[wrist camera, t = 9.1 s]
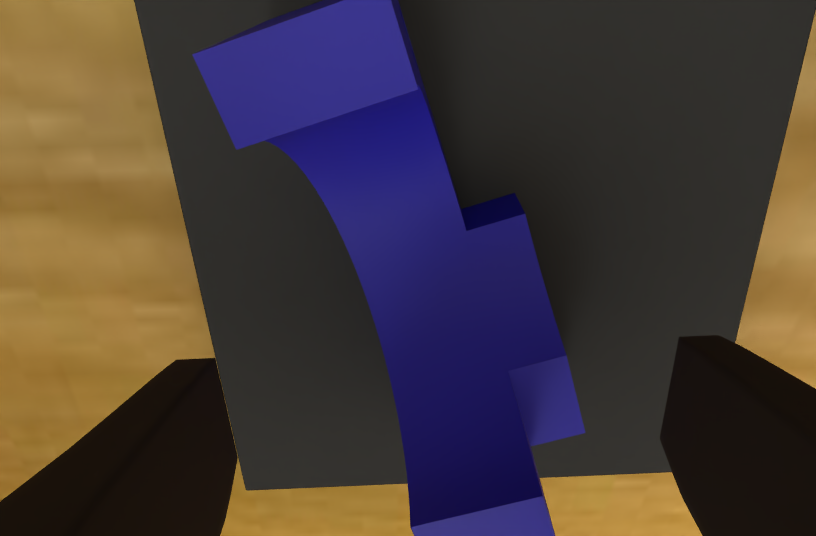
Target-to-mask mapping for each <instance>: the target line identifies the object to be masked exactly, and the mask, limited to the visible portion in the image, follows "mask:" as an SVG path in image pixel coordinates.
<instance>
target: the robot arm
mask: <svg viewBox="0 0 816 536" xmlns="http://www.w3.org/2000/svg"><path fill="white" fill-rule="evenodd" d="M660 441H661V444H662V446H663V449H664V452H665V454H666V457H667V460H668V462H669V465H670V468H671V471H672V473H673V476H674V478H675V480H676V483H677V485H678V488H679V490H680V493H681V495H682V498H683V500H684V502H685V503H686V505H687V507H688V509H689V511H690V513H691V515H692V517H693V519H694V520H695V522H696V524H697V526H698V528H699V530H700V532H701V533H702V535H703V536H816V389H815V388H813V387H811V386H810V385H808V384H806V383H805V382H803V381H801V380H799V379H798V378H796V377H794V376H792V375H791V374H789V373H787V372H786V371H784V370H782V369H780V368H779V367H777V366H775V365H773V364H772V363H770V362H768V361H767V360H765V359H763V358H761V357H759V356H758V355H756V354H754V353H752V352H751V351H749V350H747V349H745V348H743V347H741V346H740V345H738V344H736V343H734V342H732V341H730V340H728V339H726V338H724V337H722V336H719V335H707V336H686V337H679V339H678V344H677V349H676V355H675V360H674V365H673V370H672V376H671V381H670V386H669V391H668V397H667V402H666V407H665V412H664V418H663V423H662V428H661V433H660ZM237 458H238V457H237V452H236V448H235V443H234V439H233V435H232V430H231V426H230V421H229V417H228V413H227V408H226V404H225V399H224V395H223V390H222V386H221V382H220V377H219V373H218V368H217V364H216V359H215V358H207V359H185V360H175V361H174V362H173V363H171V364H170V365H169V366H167V367H166V368H165V369H164V370H162V371H161V372H160V373H159V374H157V375H156V376H155V377H154V378H153V379H151V380H150V381H149V382H148V383H147V384H146V385H144V386H143V387H142V388H141V389H140V390H138V391H137V392H136V393H135V394H134V395H133V396H131V397H130V398H129V399H128V400H127V401H125V402H124V403H123V404H122V405H121V406H120V407H118V408H117V409H116V410H115V411H114V412H112V413H111V414H110V415H109V416H108V417H106V418H105V419H104V420H103V421H102V422H100V423H99V424H98V425H97V426H96V427H94V428H93V429H92V430H91V431H90V432H88V433H87V434H86V435H85V436H84V437H82V438H81V439H80V440H79V441H78V442H76V443H75V444H74V445H73V446H72V447H70V448H69V449H68V450H67V451H65V452H64V453H63V454H61V455H60V456H59V457H58V458H56V459H55V460H54V461H52V462H51V463H50V464H48V465H47V466H46V467H45V468H43V469H42V470H41V471H39V472H38V473H37V474H36V475H34V476H33V477H32V478H30V479H29V480H28V481H26V482H25V483H24V484H23V485H21V486H20V487H19V488H17V489H16V490H15V491H13V492H12V493H11V494H10V495H8V496H7V497H6V498H4V499H3V500H2V501H1V502H0V536H220V534H221V531H222V528H223V525H224V522H225V518H226V514H227V509H228V504H229V500H230V495H231V490H232V485H233V480H234V474H235V469H236V464H237Z"/></svg>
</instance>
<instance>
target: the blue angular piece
mask: <svg viewBox="0 0 816 536" xmlns="http://www.w3.org/2000/svg"><path fill="white" fill-rule="evenodd" d="M192 55H193V57H194V59H195V61H196V64H197V66H198V68H199V70H200V72H201V74H202V77H203V79H204V81H205V83H206V85H207V87H208V90H209V92H210V94H211V96H212V98H213V100H214V103H215V105H216V107H217V109H218V111H219V113H220V116H221V118H222V120H223V122H224V124H225V126H226V129H227V131H228V133H229V135H230V137H231V139H232V142H233V144H234V146H235V148H236V150H237V149H241V148H244V147H247V146H250V145H253V144H256V143H259V142H262V141H266V142H270V143H271V144H273V145H275V146H277V147H278V148H280V149H281V150H282V151H284V152H285V153H286V154H287V155H288V156H289V157H290V158H291V159H292V160H293V161H294V162H295V163H296V164H297V165H298V166H299V167H300V169H301V170H302V171H303V172H304V174H305V175H306V176H307V178H308V179H309V180H310V182H311V183H312V185H313V186H314V188H315V189H316V191H317V192H318V194H319V196H320V197H321V199H322V200H323V202H324V204H325V206H326V207H327V209H328V211H329V213H330V215H331V217H332V219H333V220H334V222H335V224H336V226H337V228H338V230H339V233H340V235H341V237H342V239H343V241H344V243H345V245H346V248H347V250H348V252H349V255H350V257H351V259H352V262H353V264H354V267H355V269H356V272H357V274H358V277H359V279H360V282H361V285H362V287H363V290H364V293H365V296H366V299H367V302H368V304H369V307H370V310H371V314H372V317H373V320H374V323H375V326H376V329H377V333H378V336H379V339H380V343H381V347H382V350H383V354H384V357H385V361H386V365H387V369H388V373H389V377H390V382H391V386H392V390H393V395H394V399H395V404H396V409H397V414H398V419H399V425H400V430H401V436H402V443H403V449H404V456H405V464H406V471H407V481H408V491H409V505H410V526H411V529H412V532H413V534H414V536H555V533H554V529H553V526H552V522H551V518H550V515H549V511H548V508H547V504H546V500H545V497H544V493H543V489H542V486H541V482H540V478H539V475H538V471H537V467H536V464H535V460H534V456H533V453H532V449H531V446H534V445H538V444H543V443H547V442H551V441H555V440H559V439H563V438H567V437H571V436H575V435H579V434H583V433H585V429H584V425H583V421H582V417H581V413H580V408H579V404H578V400H577V396H576V392H575V388H574V384H573V380H572V376H571V372H570V368H569V364H568V360H567V355H566V352H565V349H564V346H563V343H562V340H561V337H560V334H559V331H558V327H557V324H556V321H555V318H554V315H553V311H552V308H551V305H550V301H549V298H548V295H547V291H546V288H545V284H544V281H543V278H542V274H541V270H540V267H539V263H538V260H537V256H536V253H535V249H534V245H533V242H532V238H531V234H530V230H529V226H528V222H527V219H526V215H525V212H524V210H523V208H522V206H521V204H520V202H519V200H518V198H517V196H516V194H515V193H513V194H509V195H506V196H503V197H499V198H496V199H493V200H489V201H486V202H483V203H480V204H476V205H473V206H470V207H466V208H463V209H461V207H460V204H459V201H458V197H457V194H456V191H455V187H454V184H453V181H452V177H451V174H450V171H449V167H448V164H447V161H446V158H445V154H444V151H443V148H442V144H441V141H440V138H439V134H438V131H437V128H436V124H435V121H434V118H433V114H432V111H431V108H430V104H429V101H428V98H427V95H426V91H425V88H424V85H423V81H422V78H421V75H420V71H419V68H418V65H417V61H416V58H415V55H414V51H413V48H412V45H411V41H410V38H409V35H408V32H407V28H406V25H405V22H404V18H403V15H402V12H401V8H400V5H399V2H398V0H323V1H320V2H317V3H314V4H311V5H309V6H306V7H303V8H300V9H298V10H295V11H292V12H289V13H286V14H284V15H281V16H278V17H275V18H273V19H270V20H268V21H265V22H263V23H261V24H259V25H256V26H254V27H252V28H250V29H248V30H245V31H243V32H241V33H239V34H237V35H234V36H232V37H230V38H228V39H225V40H223V41H221V42H219V43H217V44H214V45H212V46H210V47H208V48H206V49H203V50H201V51H199V52H197V53H194V54H192Z"/></svg>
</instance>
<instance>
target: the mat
mask: <svg viewBox="0 0 816 536" xmlns="http://www.w3.org/2000/svg"><path fill="white" fill-rule="evenodd" d="M320 1H323V0H134V2H135V6H136V11H137V15H138V19H139V24H140V28H141V33H142V37H143V41H144V46H145V50H146V55H147V59H148V63H149V68H150V72H151V76H152V81H153V85H154V90H155V94H156V98H157V103H158V107H159V111H160V116H161V120H162V125H163V129H164V133H165V138H166V142H167V147H168V151H169V155H170V160H171V164H172V168H173V173H174V177H175V182H176V186H177V190H178V195H179V199H180V203H181V208H182V212H183V217H184V221H185V225H186V230H187V234H188V239H189V243H190V247H191V252H192V256H193V260H194V265H195V269H196V274H197V278H198V282H199V287H200V291H201V295H202V300H203V304H204V309H205V313H206V317H207V322H208V326H209V331H210V335H211V339H212V344H213V348H214V352H215V357H216V361H217V366H218V370H219V374H220V379H221V383H222V387H223V392H224V396H225V401H226V405H227V409H228V414H229V418H230V423H231V427H232V431H233V436H234V440H235V444H236V449H237V453H238V458H239V462H240V466H241V471H242V475H243V479H244V484H245V488H246V490H268V489H291V488H315V487H338V486H361V485H384V484H407V483H408V481H407V471H406V464H405V456H404V449H403V443H402V436H401V430H400V425H399V419H398V414H397V409H396V404H395V399H394V395H393V390H392V386H391V382H390V377H389V373H388V369H387V365H386V361H385V357H384V354H383V350H382V347H381V343H380V339H379V336H378V333H377V329H376V326H375V323H374V320H373V317H372V314H371V310H370V307H369V304H368V302H367V299H366V296H365V293H364V290H363V287H362V285H361V282H360V279H359V277H358V274H357V272H356V269H355V267H354V264H353V262H352V259H351V257H350V255H349V252H348V250H347V248H346V245H345V243H344V241H343V239H342V237H341V235H340V233H339V230H338V228H337V226H336V224H335V222H334V220H333V219H332V217H331V215H330V213H329V211H328V209H327V207H326V206H325V204H324V202H323V200H322V199H321V197H320V196H319V194H318V192H317V191H316V189H315V188H314V186H313V185H312V183H311V182H310V180H309V179H308V178H307V176H306V175H305V174H304V172H303V171H302V170H301V169H300V167H299V166H298V165H297V164H296V163H295V162H294V161H293V160H292V159H291V158H290V157H289V156H288V155H287V154H286V153H285V152H284V151H282V150H281V149H280V148H278V147H277V146H275V145H273V144H271V143H270V142H266V141H262V142H259V143H256V144H253V145H250V146H247V147H244V148H241V149H237V150H236V148H235V146H234V144H233V142H232V139H231V137H230V135H229V133H228V131H227V129H226V126H225V124H224V122H223V120H222V118H221V116H220V113H219V111H218V109H217V107H216V105H215V103H214V100H213V98H212V96H211V94H210V92H209V90H208V87H207V85H206V83H205V81H204V79H203V77H202V74H201V72H200V70H199V68H198V66H197V64H196V61H195V59H194V57H193V55H192V54H194V53H197V52H199V51H201V50H203V49H206V48H208V47H210V46H212V45H214V44H217V43H219V42H221V41H223V40H225V39H228V38H230V37H232V36H234V35H237V34H239V33H241V32H243V31H245V30H248V29H250V28H252V27H254V26H256V25H259V24H261V23H263V22H265V21H268V20H270V19H273V18H275V17H278V16H281V15H284V14H286V13H289V12H292V11H295V10H298V9H300V8H303V7H306V6H309V5H311V4H314V3H317V2H320ZM398 2H399V5H400V8H401V12H402V15H403V18H404V22H405V25H406V28H407V32H408V35H409V38H410V41H411V45H412V48H413V51H414V55H415V58H416V61H417V65H418V68H419V71H420V75H421V78H422V81H423V85H424V88H425V91H426V95H427V98H428V101H429V104H430V108H431V111H432V114H433V118H434V121H435V124H436V128H437V131H438V134H439V138H440V141H441V144H442V148H443V151H444V154H445V158H446V161H447V164H448V167H449V171H450V174H451V177H452V181H453V184H454V187H455V191H456V194H457V197H458V201H459V204H460V207H461V209H463V208H466V207H470V206H473V205H476V204H480V203H483V202H486V201H489V200H493V199H496V198H499V197H503V196H506V195H509V194H513V193H515V194H516V196H517V198H518V200H519V202H520V204H521V206H522V208H523V210H524V212H525V215H526V219H527V222H528V226H529V230H530V234H531V238H532V242H533V245H534V249H535V253H536V256H537V260H538V263H539V267H540V270H541V274H542V278H543V281H544V284H545V288H546V291H547V295H548V298H549V301H550V305H551V308H552V311H553V315H554V318H555V321H556V324H557V327H558V331H559V334H560V337H561V340H562V343H563V346H564V349H565V352H566V355H567V360H568V364H569V368H570V372H571V376H572V380H573V384H574V388H575V392H576V396H577V400H578V404H579V408H580V413H581V417H582V421H583V425H584V429H585V433H583V434H579V435H575V436H571V437H567V438H563V439H559V440H555V441H551V442H547V443H543V444H538V445H534V446H531V449H532V453H533V456H534V460H535V464H536V467H537V471H538V475H539V478H546V477H569V476H592V475H615V474H639V473H662V472H672V471H671V468H670V465H669V462H668V460H667V457H666V454H665V452H664V449H663V446H662V444H661V441H660V433H661V428H662V423H663V418H664V412H665V407H666V402H667V397H668V391H669V386H670V381H671V376H672V370H673V365H674V360H675V355H676V349H677V344H678V339H679V337H686V336H707V335H719V336H722V337H724V338H726V339H728V340H730V341H732V342H734V343H735V340H736V336H737V332H738V328H739V324H740V320H741V316H742V312H743V307H744V303H745V299H746V295H747V291H748V287H749V283H750V278H751V274H752V270H753V266H754V262H755V258H756V254H757V250H758V245H759V241H760V237H761V233H762V229H763V225H764V221H765V216H766V212H767V208H768V204H769V200H770V196H771V192H772V188H773V183H774V179H775V175H776V171H777V167H778V163H779V159H780V154H781V150H782V146H783V142H784V138H785V134H786V130H787V126H788V121H789V117H790V113H791V109H792V105H793V101H794V97H795V92H796V88H797V84H798V80H799V76H800V72H801V68H802V64H803V59H804V55H805V51H806V47H807V43H808V39H809V35H810V31H811V26H812V22H813V18H814V14H815V10H816V0H398Z"/></svg>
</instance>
